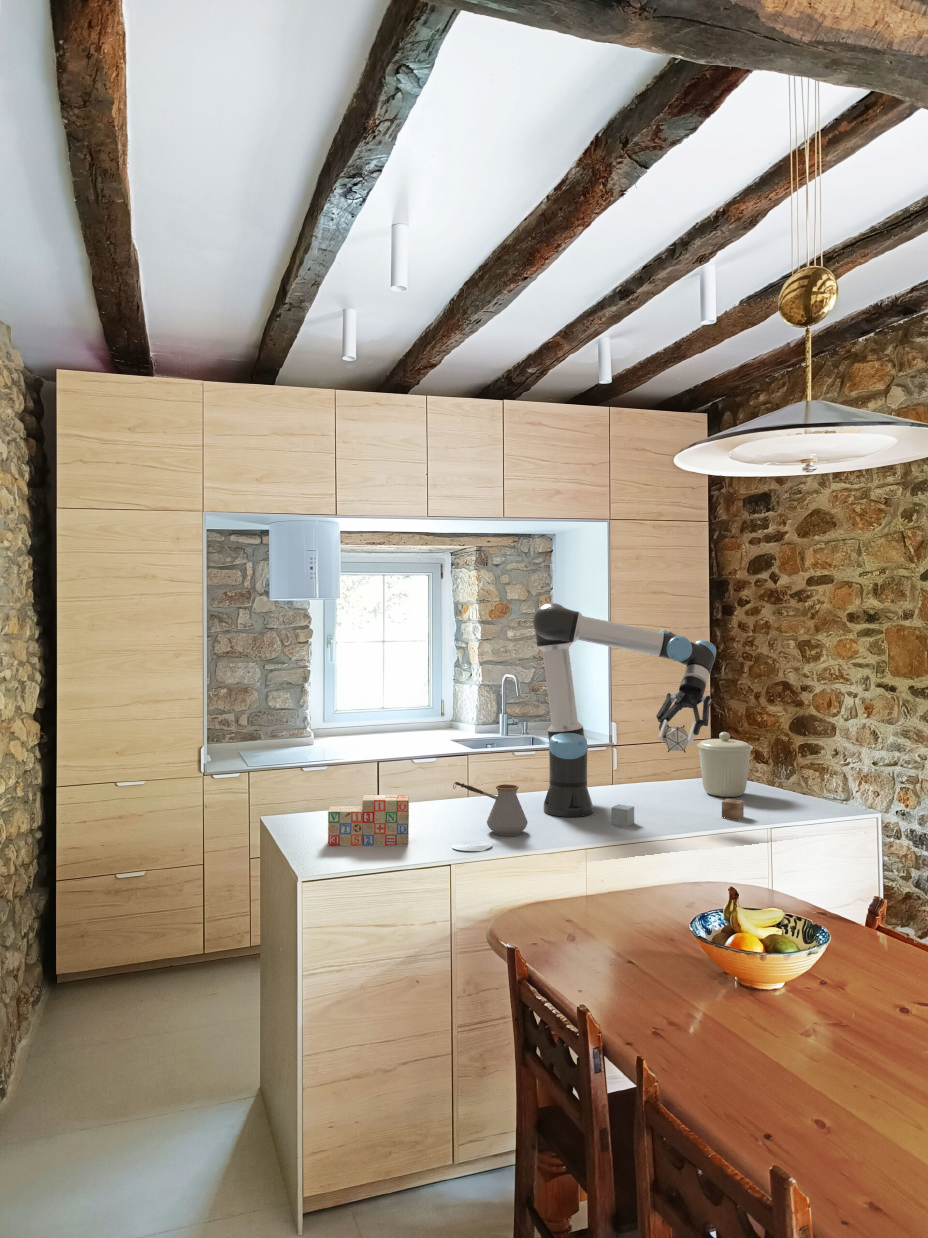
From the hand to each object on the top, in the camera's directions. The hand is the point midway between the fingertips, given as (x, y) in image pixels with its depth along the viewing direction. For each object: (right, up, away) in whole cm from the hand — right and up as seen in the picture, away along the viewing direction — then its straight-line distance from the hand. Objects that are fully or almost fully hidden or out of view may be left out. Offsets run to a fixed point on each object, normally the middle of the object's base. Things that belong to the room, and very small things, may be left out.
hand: (675, 740), depth 250 cm
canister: (+26, -23, +35) cm, 49 cm away
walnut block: (+18, -24, +4) cm, 30 cm away
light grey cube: (-16, -24, -4) cm, 29 cm away
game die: (+1, -4, +3) cm, 5 cm away
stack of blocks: (-88, -24, -24) cm, 94 cm away
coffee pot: (-55, -24, -15) cm, 62 cm away
